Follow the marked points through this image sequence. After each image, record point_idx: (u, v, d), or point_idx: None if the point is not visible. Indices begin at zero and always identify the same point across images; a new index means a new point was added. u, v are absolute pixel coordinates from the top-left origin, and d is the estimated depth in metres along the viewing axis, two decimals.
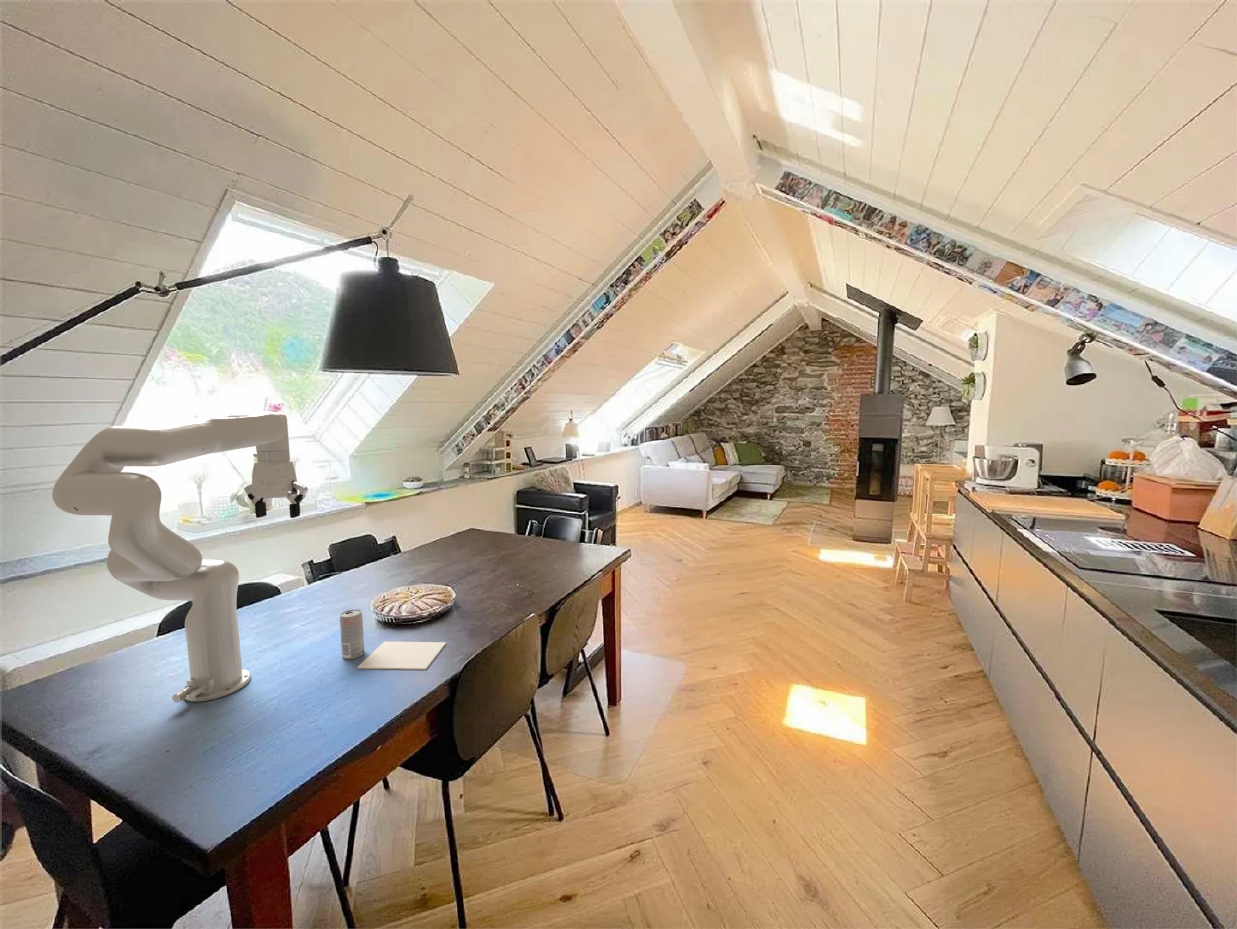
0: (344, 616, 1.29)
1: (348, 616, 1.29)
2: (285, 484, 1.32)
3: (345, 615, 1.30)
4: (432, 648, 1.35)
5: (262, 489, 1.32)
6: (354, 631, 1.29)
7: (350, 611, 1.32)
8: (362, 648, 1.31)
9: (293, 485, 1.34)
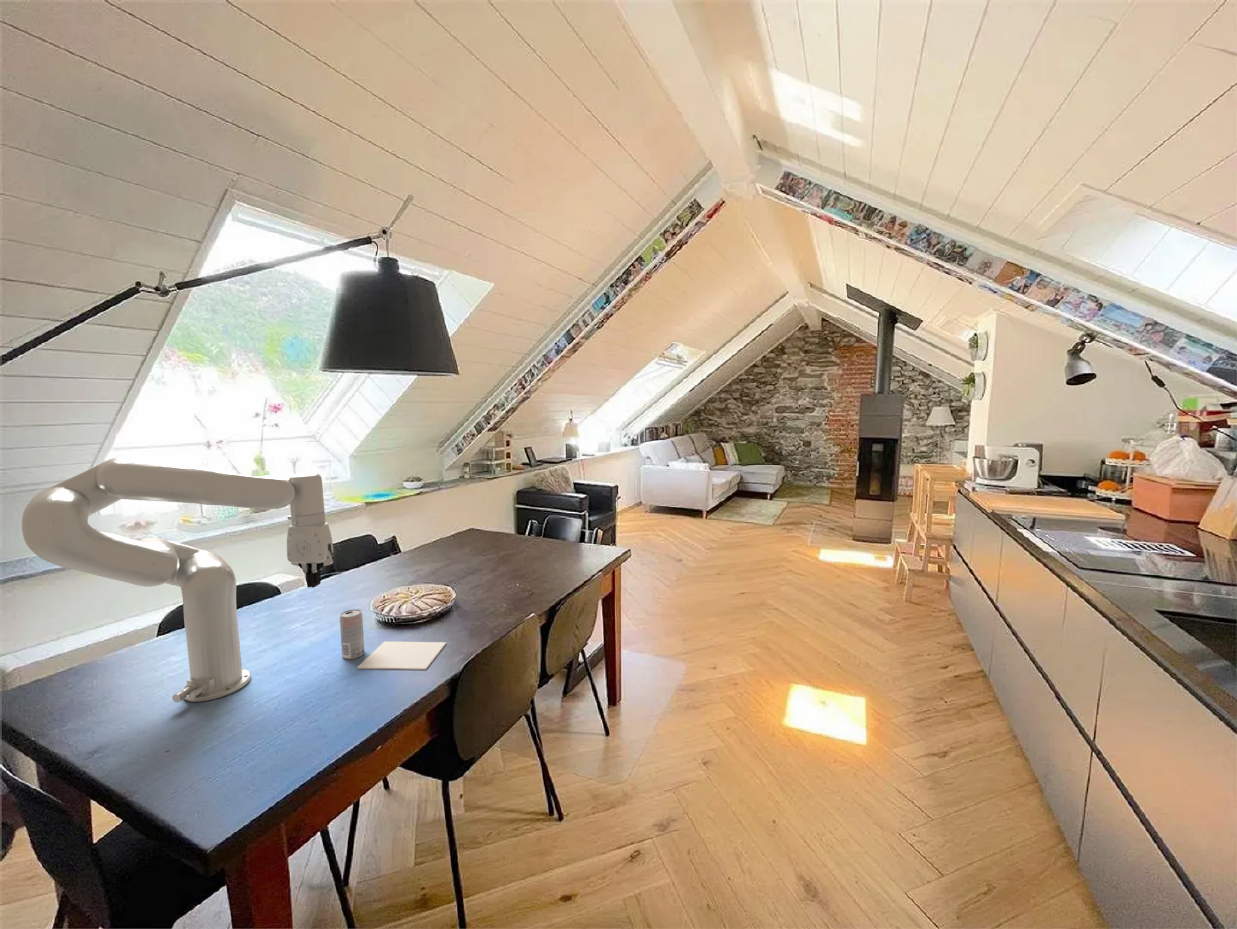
0: (344, 616, 1.29)
1: (348, 616, 1.29)
2: (322, 549, 1.26)
3: (345, 615, 1.30)
4: (432, 648, 1.35)
5: (297, 554, 1.26)
6: (354, 631, 1.29)
7: (350, 611, 1.32)
8: (362, 648, 1.31)
9: None
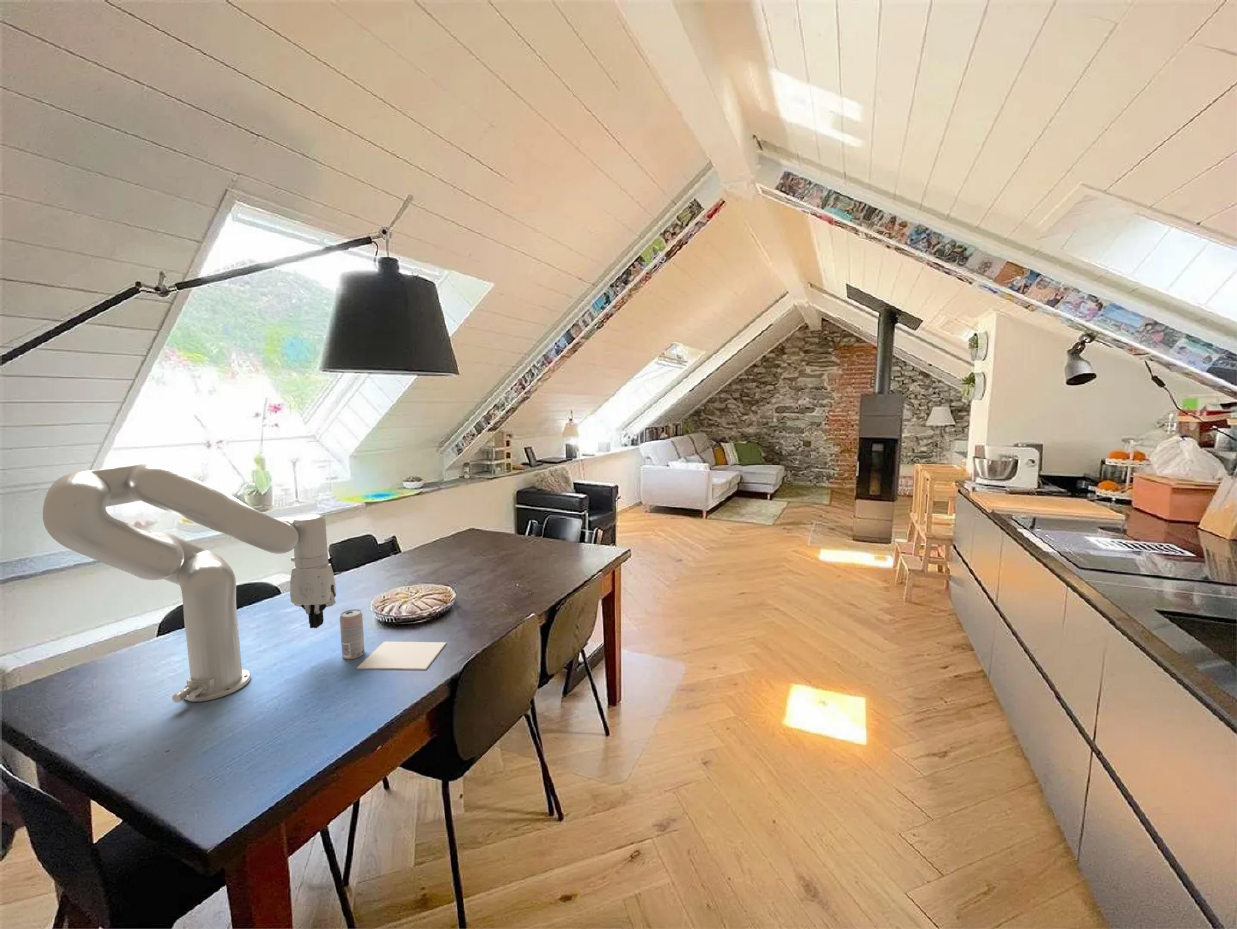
0: (344, 616, 1.29)
1: (348, 616, 1.29)
2: (325, 591, 1.27)
3: (345, 615, 1.30)
4: (432, 648, 1.35)
5: (300, 596, 1.27)
6: (354, 631, 1.29)
7: (350, 611, 1.32)
8: (362, 648, 1.31)
9: None
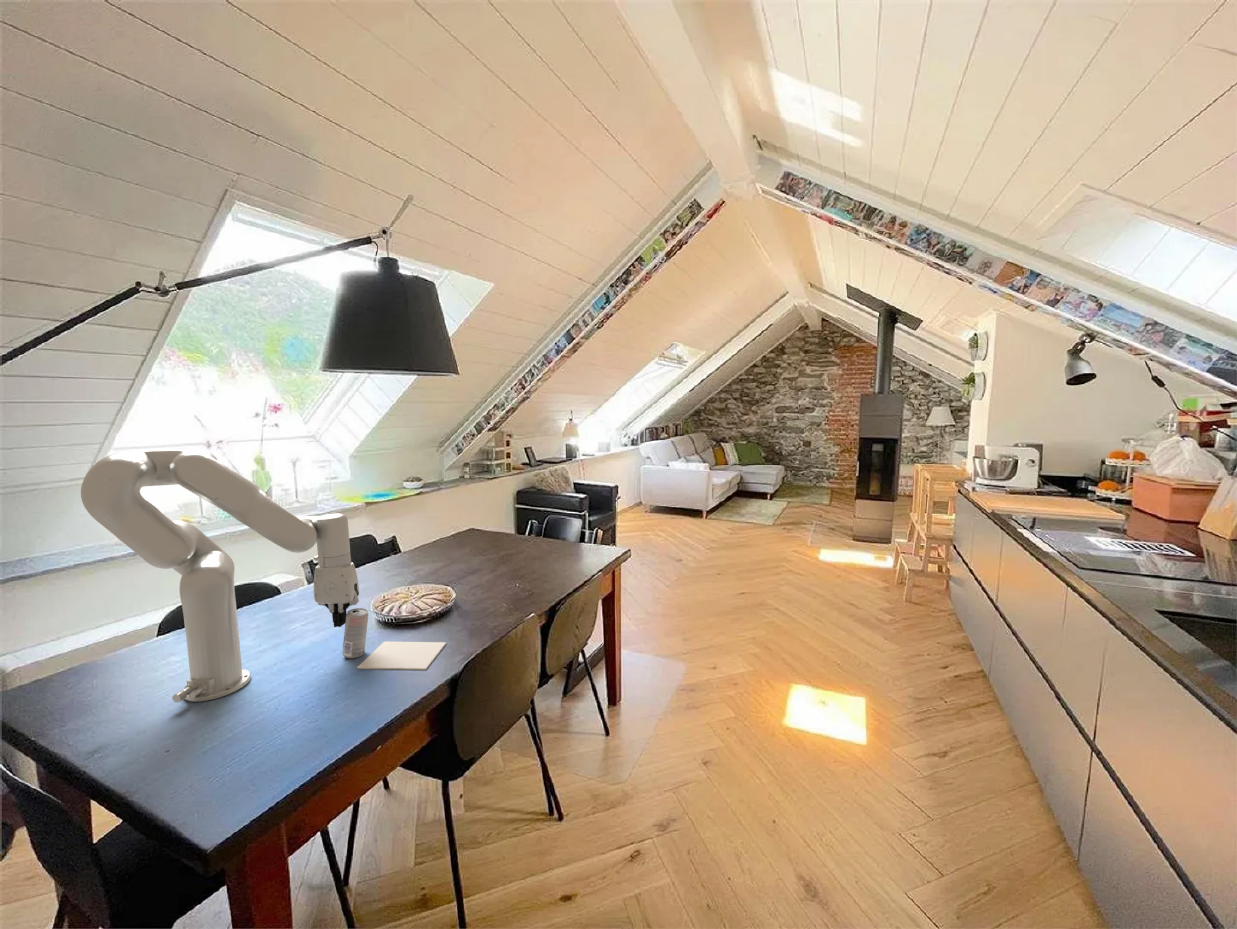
0: (351, 615, 1.29)
1: (355, 615, 1.29)
2: (348, 589, 1.27)
3: (352, 613, 1.30)
4: (432, 648, 1.35)
5: (324, 595, 1.27)
6: (358, 631, 1.29)
7: (357, 610, 1.32)
8: (363, 648, 1.31)
9: None
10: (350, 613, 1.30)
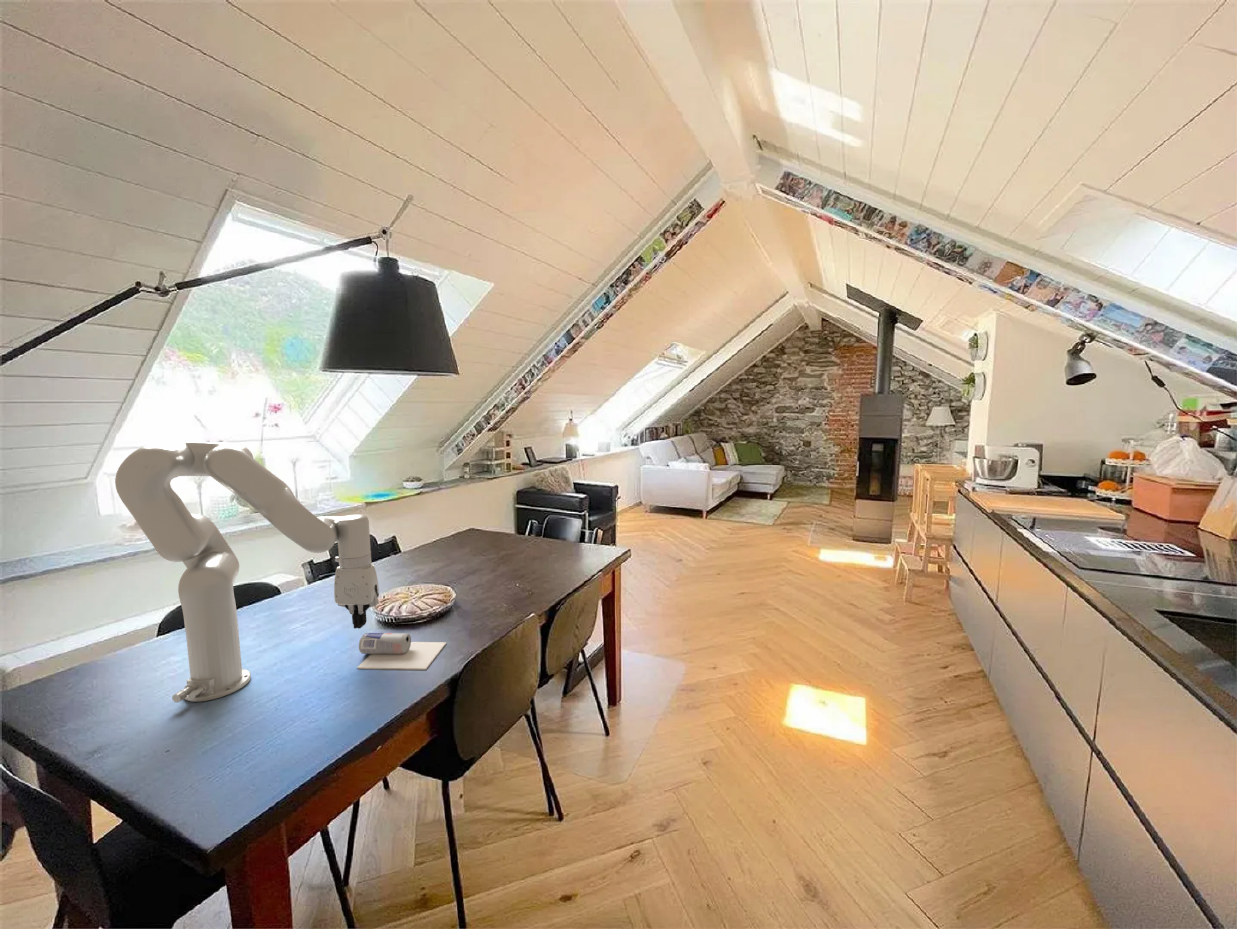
0: (403, 642, 1.30)
1: (403, 646, 1.30)
2: (369, 591, 1.27)
3: (405, 640, 1.31)
4: (432, 648, 1.35)
5: (345, 596, 1.27)
6: (388, 652, 1.30)
7: (408, 638, 1.34)
8: None
9: None
10: (405, 638, 1.31)
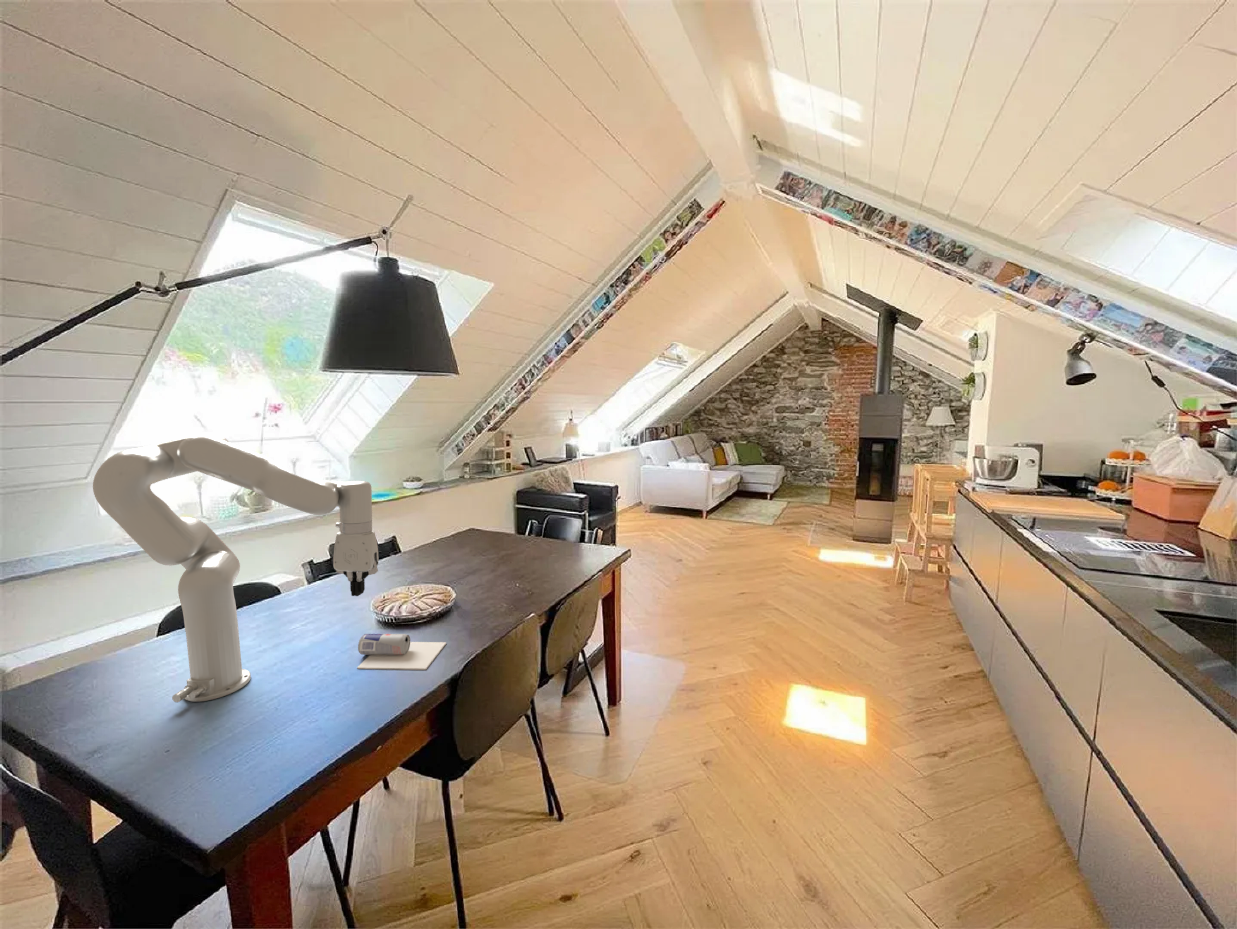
0: (402, 643, 1.30)
1: (403, 647, 1.30)
2: (369, 557, 1.26)
3: (404, 641, 1.31)
4: (432, 648, 1.35)
5: (344, 562, 1.26)
6: (387, 653, 1.30)
7: (408, 638, 1.33)
8: None
9: None
10: (404, 640, 1.31)
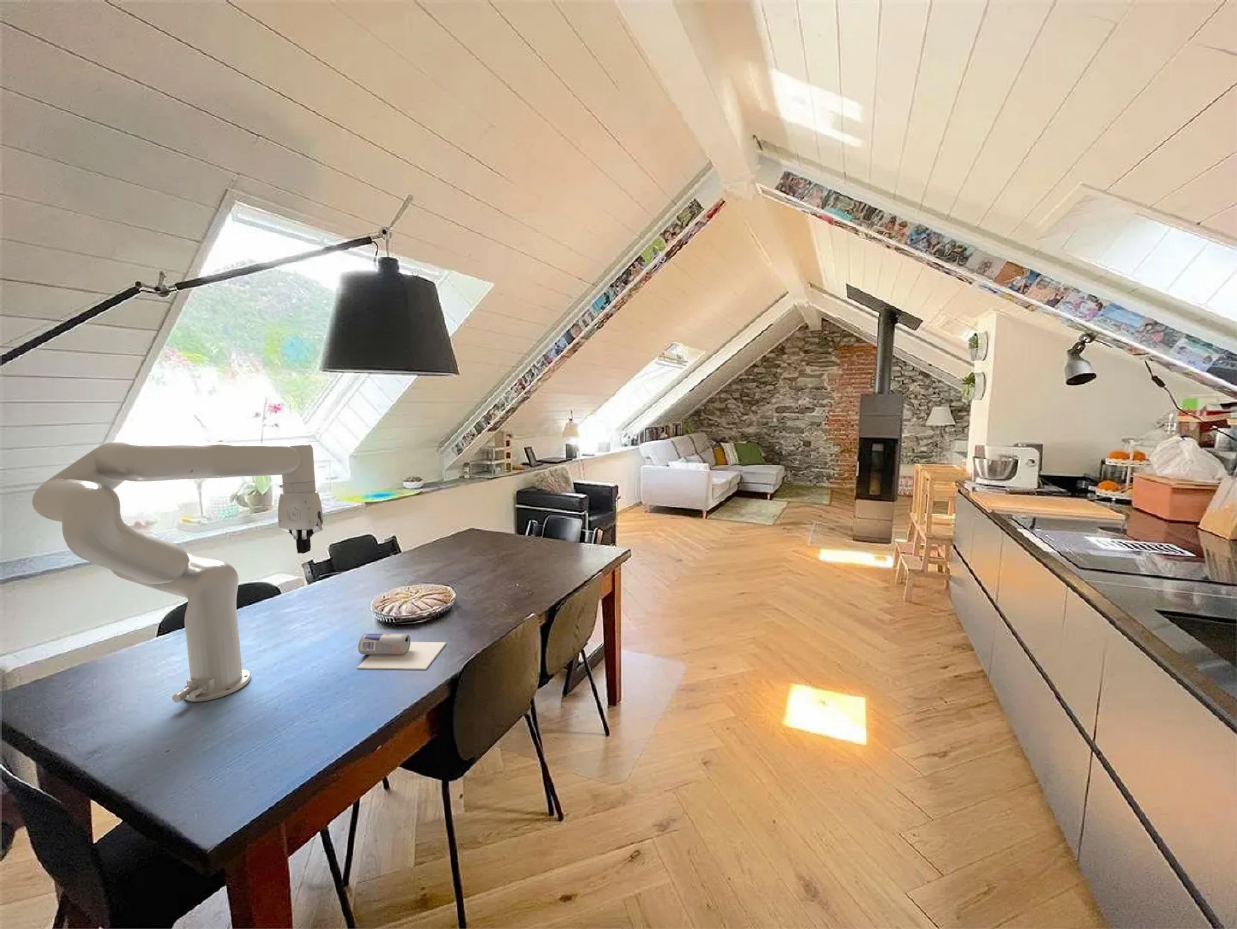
0: (403, 643, 1.30)
1: (403, 647, 1.30)
2: (311, 515, 1.31)
3: (404, 641, 1.31)
4: (432, 648, 1.35)
5: (288, 521, 1.31)
6: (387, 653, 1.30)
7: (408, 638, 1.33)
8: None
9: None
10: (404, 640, 1.31)
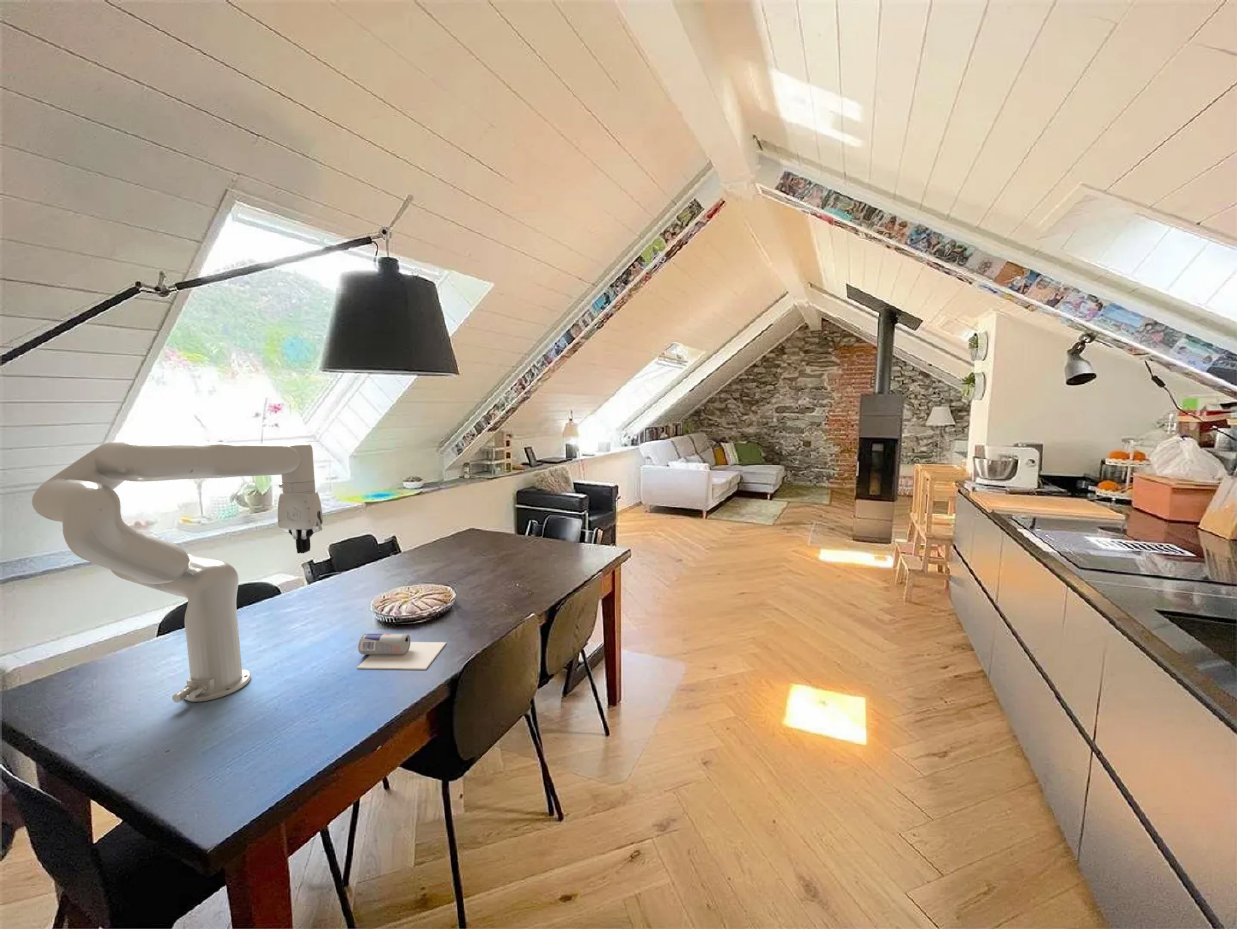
0: (403, 643, 1.30)
1: (403, 647, 1.30)
2: (311, 515, 1.31)
3: (404, 641, 1.31)
4: (432, 648, 1.35)
5: (288, 520, 1.31)
6: (387, 653, 1.30)
7: (408, 638, 1.33)
8: None
9: None
10: (404, 640, 1.31)
